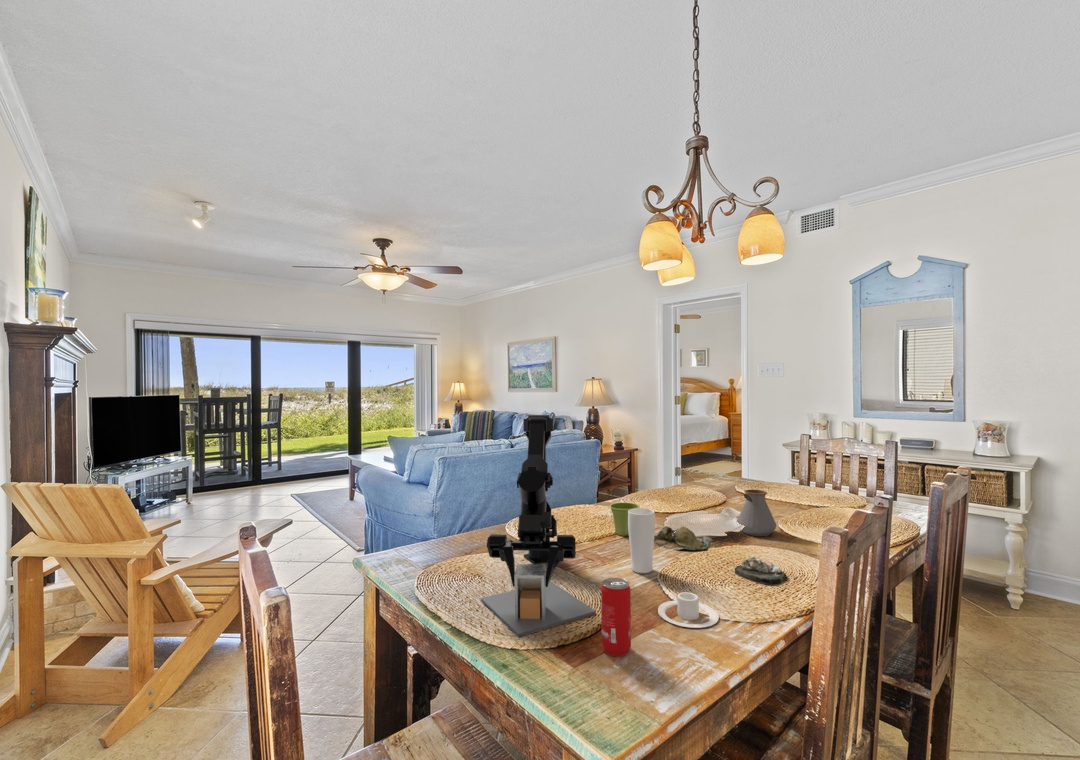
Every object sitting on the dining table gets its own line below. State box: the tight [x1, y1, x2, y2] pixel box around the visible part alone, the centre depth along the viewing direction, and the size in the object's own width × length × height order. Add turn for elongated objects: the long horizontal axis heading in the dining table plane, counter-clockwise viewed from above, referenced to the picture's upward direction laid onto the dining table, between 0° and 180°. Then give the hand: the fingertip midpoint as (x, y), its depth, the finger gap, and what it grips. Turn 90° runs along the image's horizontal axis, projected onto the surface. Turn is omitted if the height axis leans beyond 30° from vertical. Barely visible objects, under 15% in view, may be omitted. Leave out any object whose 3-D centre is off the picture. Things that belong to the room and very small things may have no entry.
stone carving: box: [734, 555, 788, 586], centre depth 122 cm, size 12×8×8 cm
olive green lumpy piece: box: [654, 525, 713, 551], centre depth 149 cm, size 18×18×5 cm
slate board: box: [480, 580, 597, 638], centre depth 106 cm, size 18×18×1 cm
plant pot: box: [609, 501, 641, 537], centre depth 157 cm, size 9×9×9 cm
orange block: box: [520, 590, 541, 619], centre depth 102 cm, size 4×4×4 cm
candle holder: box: [657, 591, 720, 629], centre depth 102 cm, size 12×12×4 cm
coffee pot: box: [736, 489, 777, 537], centre depth 152 cm, size 21×12×15 cm, turn 145°
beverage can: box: [600, 577, 632, 658], centre depth 89 cm, size 5×5×12 cm
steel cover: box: [514, 563, 547, 621], centre depth 102 cm, size 6×6×9 cm
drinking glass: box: [628, 507, 656, 574], centre depth 126 cm, size 7×7×15 cm
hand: (530, 586), depth 101 cm, fingers open, 6 cm apart
